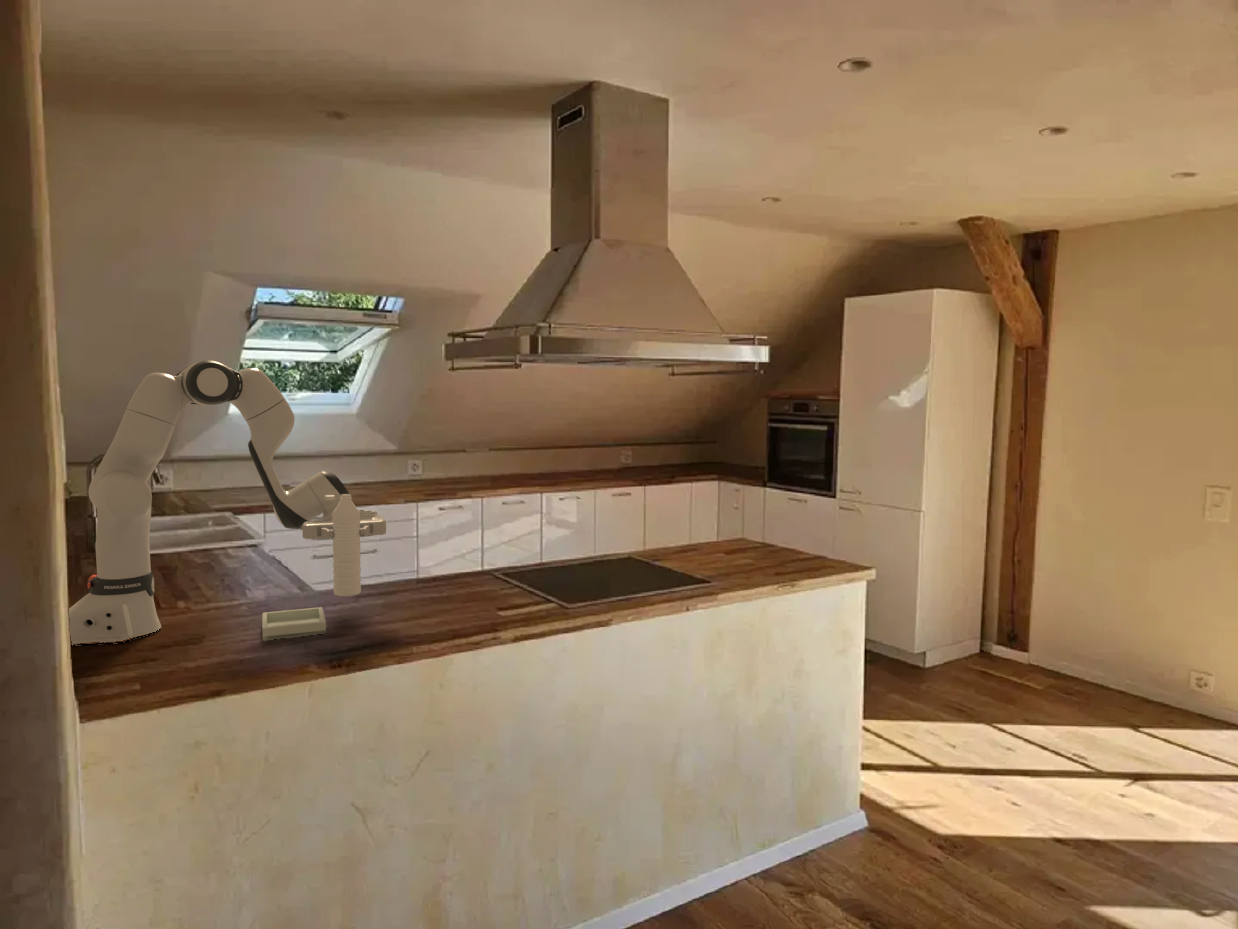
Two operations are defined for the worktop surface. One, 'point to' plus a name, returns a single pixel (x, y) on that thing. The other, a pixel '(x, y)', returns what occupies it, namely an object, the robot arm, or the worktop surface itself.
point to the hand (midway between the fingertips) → (347, 533)
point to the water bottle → (346, 547)
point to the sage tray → (293, 623)
